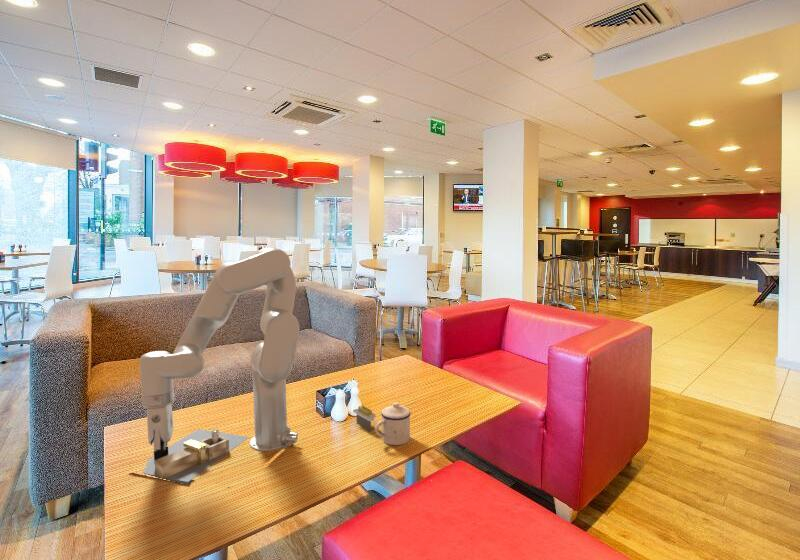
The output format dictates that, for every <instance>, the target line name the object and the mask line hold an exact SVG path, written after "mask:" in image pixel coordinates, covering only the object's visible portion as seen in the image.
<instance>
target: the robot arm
mask: <svg viewBox="0 0 800 560" xmlns="http://www.w3.org/2000/svg"><path fill="white" fill-rule="evenodd" d="M289 256H290V255H288V254H287V253H286V252H285V251H284V250H282V249H279V248H277V247H276V248H275V247H274V248H273V247H264V248H261V249H260V250H258V251H257V252H256V254H255V255H253V256H250V257H248V258H245V259H243V260H239V261H236V262H234V261H233V262H232V261H228V262H224V263H222V264H220V266H218V267H217V269H216V271H215V272H214V274H213V276H212V277H211V280H210V282H209V283H208V286H207V287H206V290H205V292H204V293H203V296H202V298H201V299H200V301H199V304H198V305H197V307H196V309H195V311H194V312H193V314H192V317H191V319H190V320H189V322H188V324H187V325H186V326H185V329H184V331H183V332H182V335H181V336H180V339H179V340H178V342H177V344H176V347H175V348H174V351H173V353H171V352H169V351H167V350H155V351H149V352H147V353H143V354H142V355H141V356H140V358H139V374H140V376H139V377H140V392H141V406H142V407H143V409H146V420H147V427H146V428H147V438H148V439H147V440H148V441H147V442H148V444H149V445H150V446H152V445H153V456H154V464H155V460H157V459H159V458H162V457H164V456H167V455H169V454H168V447H169V446H168V443H169V442H170V441H171V439H172V436H173V433H174V427H175V426H174V417H173V408H172V407H173V406H172V404H173V403H174V401H175V389H174V379H177V380H180V379H181V380H182V379H183V380H184V379H193V378H196V377H197V376H199V375H200V374H201V373H202V372H203V370H204V367H205V359H204V356H203V354H204V352H205V351H206V348H207V346H208V344H209V342H210V341H211V338H212V337H213V336H214V334H215V332H216V331H217V330H218V329H219V328H221V327H222V326H223V325H224V324H225V323H226V322H227V320H228V319H229V317H230V315H231V313H232V311H233V308H234V306H235V304H236V303H237V300H238V299H239V297H240V296H241V295H242V294H244V293H247V292H250V291H252V290H256V289H258V288H260V287H263V286H265V285H266V291H265V293H266V294H265V300H264V304H263V309H262V313H261V317H260V321H259V327H260V330H261V332H262V333H263V335H264V337H263V338H264V339H263V341H262V342H259V343H258V344H256V346H255V347H254V348H253V350H252V352H251V354H250V368H251V378H252V391H253V397H252V399H253V420H254V421H253V422H254V423H253V424H254V436H253V437H252V438H251V439H250V441H249V446H250V447H251V448H252V449H253V450H255V451H260V452H269V451H276V450H280V451H282V450H283V449H286V448H287V447H289V446H290V445H291V444H296V443H297V442H298V437H299V434H298V432H292V430H291V426H288V418H287V415H288V413H287V411H288V410H287V383H286V378H288V376H290V374H291V372H292V370H293V367H294V363H295V359H296V353H297V348H298V344H299V338H300V331H301V330H300V328H301V327H300V324H299V320H298V318H297V317H296V316H295V315H294V314H293V312H294V306H295V299H296V298H295V297H296V292H297V291H296V290H297V283H296V277H295V274H294V272H293V269H292V267H291V265H292V264H291V258H290V257H289Z"/></svg>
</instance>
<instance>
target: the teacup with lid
mask: <svg viewBox="0 0 800 560" xmlns="http://www.w3.org/2000/svg"><path fill="white" fill-rule="evenodd" d="M380 415H381V417H382V418H381V419H382V420H379V421H377V422H376V424H375V426H374V430H375V433H376V435H377V436H378V437H381V438H382V441H383V442H384V443H385V444H387V445H390V446H402V445H406V444H407V443H408V442H409V441H410V440H411V439H410V438H411V437H410V435H411V431H410V430H411V424H410V423H411V417H410V416H411V411H410V409H409V408H408V407H406V406H404V405H400V403H399V402H396V401H395V402H393V403H392V405H389V406H386V407H384V408H382V411H381V414H380ZM380 426H381V427H382V428H381V431H382V433H380V431H379V428H380Z"/></svg>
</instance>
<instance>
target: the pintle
mask: <svg viewBox="0 0 800 560" xmlns="http://www.w3.org/2000/svg"><path fill="white" fill-rule="evenodd" d="M210 431H211V435H212V445H213V444H216V443H218V442H219V432H220V430H219V429H213V430H210Z"/></svg>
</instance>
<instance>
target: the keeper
mask: <svg viewBox="0 0 800 560" xmlns="http://www.w3.org/2000/svg"><path fill="white" fill-rule="evenodd" d="M183 446H184V447H187V448H190V449H192V450H195V451H197V454H198V464H199V465H203V464H205V463H206V455H205V449H206V448H207V445H206V444H203V443H201V442H198V441H195V440H192V439H190V440H188V441H186V442H184V443H183Z"/></svg>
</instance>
